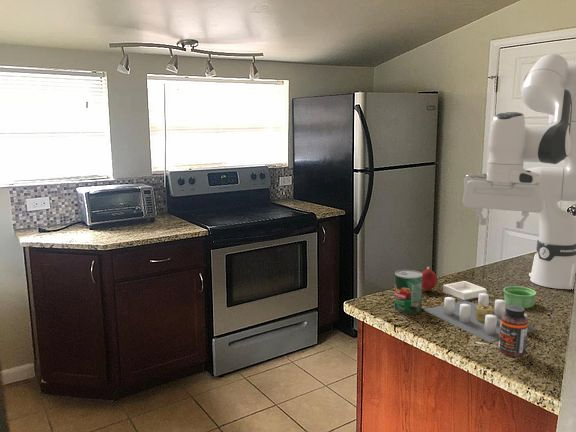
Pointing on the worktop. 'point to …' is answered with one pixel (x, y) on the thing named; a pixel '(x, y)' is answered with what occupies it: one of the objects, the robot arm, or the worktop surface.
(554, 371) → the worktop surface
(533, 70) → the robot arm
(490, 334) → the mat
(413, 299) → the canned tomato
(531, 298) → the ramekin
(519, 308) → the supplement bottle
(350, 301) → the worktop surface
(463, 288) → the ceramic dish
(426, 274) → the pomegranate
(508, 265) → the worktop surface
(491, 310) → the tan faceted block
